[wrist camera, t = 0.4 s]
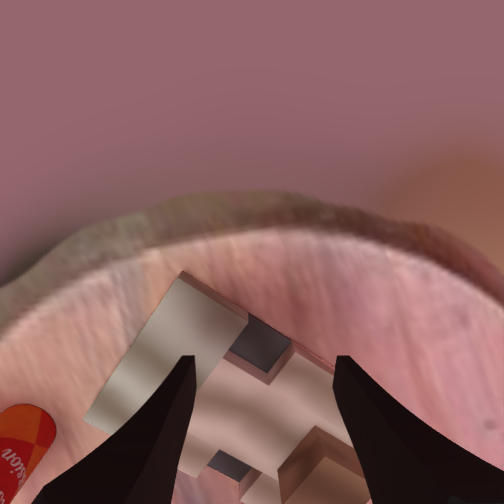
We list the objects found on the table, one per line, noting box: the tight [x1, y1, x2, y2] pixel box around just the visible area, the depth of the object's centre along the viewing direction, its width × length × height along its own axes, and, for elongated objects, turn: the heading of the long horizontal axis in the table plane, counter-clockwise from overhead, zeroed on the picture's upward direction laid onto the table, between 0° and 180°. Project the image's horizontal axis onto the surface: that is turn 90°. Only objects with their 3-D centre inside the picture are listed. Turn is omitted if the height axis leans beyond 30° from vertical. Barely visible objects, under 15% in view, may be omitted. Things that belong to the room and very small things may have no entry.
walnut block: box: [277, 425, 371, 504], centre depth 23 cm, size 6×6×3 cm
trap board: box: [82, 271, 354, 504], centre depth 25 cm, size 16×26×2 cm, turn 55°
